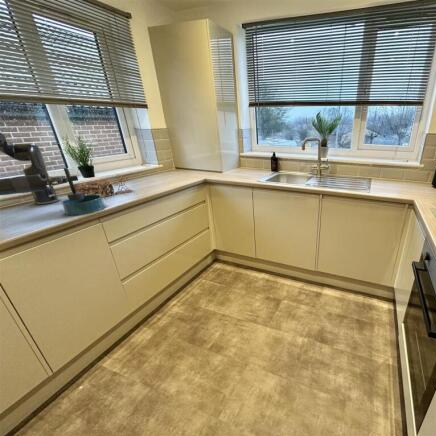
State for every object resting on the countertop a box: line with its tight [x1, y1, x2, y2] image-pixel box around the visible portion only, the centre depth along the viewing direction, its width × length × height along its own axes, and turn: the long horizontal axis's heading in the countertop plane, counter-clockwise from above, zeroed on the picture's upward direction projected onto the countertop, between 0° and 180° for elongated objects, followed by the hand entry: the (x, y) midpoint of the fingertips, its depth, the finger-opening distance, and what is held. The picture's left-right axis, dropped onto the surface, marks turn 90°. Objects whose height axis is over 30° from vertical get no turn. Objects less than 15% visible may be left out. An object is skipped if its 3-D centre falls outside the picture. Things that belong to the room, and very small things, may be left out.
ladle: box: [63, 167, 84, 201], centre depth 119 cm, size 6×6×16 cm
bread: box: [73, 179, 115, 198], centre depth 147 cm, size 19×11×10 cm, turn 139°
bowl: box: [61, 195, 106, 216], centre depth 126 cm, size 16×16×6 cm
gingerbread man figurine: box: [113, 174, 133, 195], centre depth 156 cm, size 9×4×12 cm, turn 134°
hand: (77, 177), depth 120 cm, fingers closed on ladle
